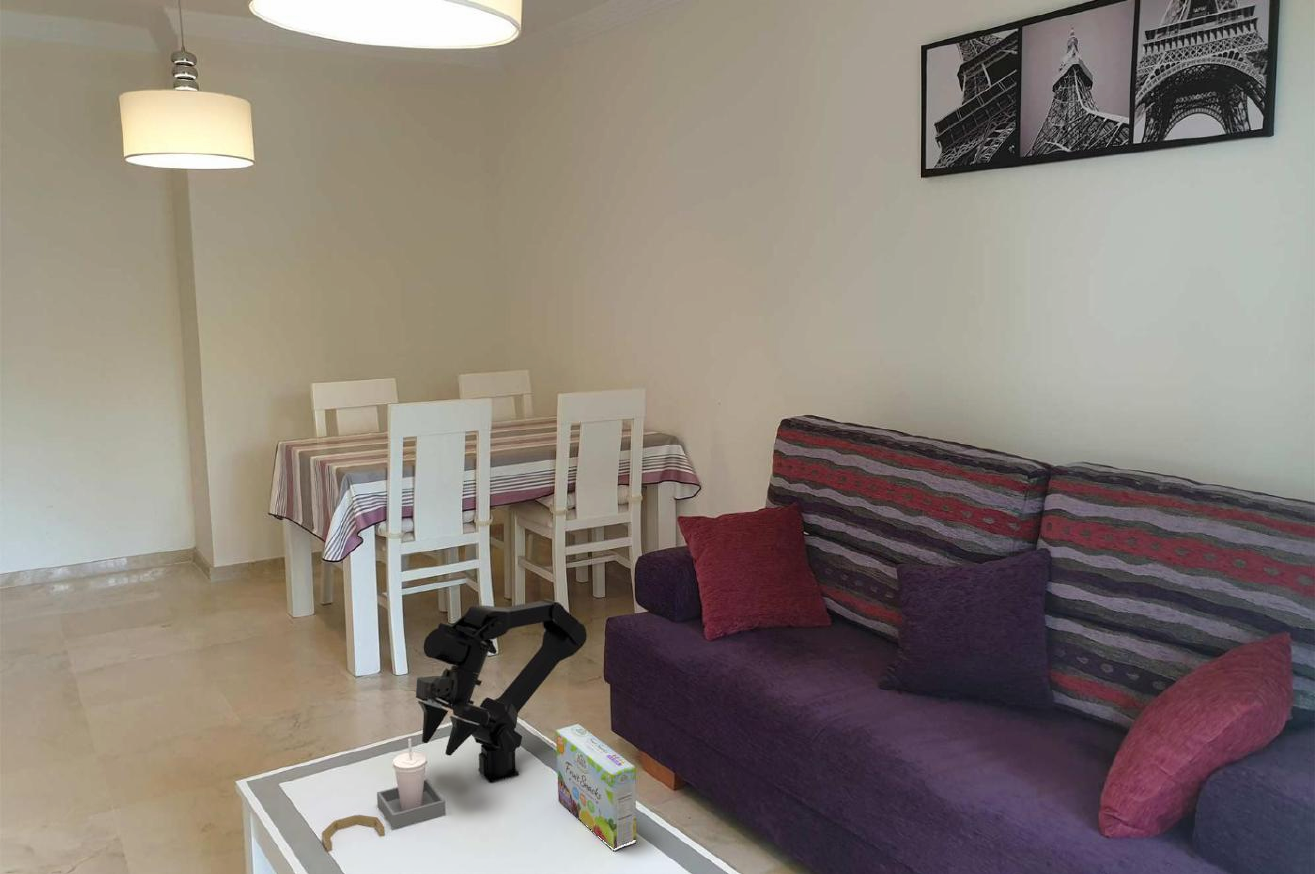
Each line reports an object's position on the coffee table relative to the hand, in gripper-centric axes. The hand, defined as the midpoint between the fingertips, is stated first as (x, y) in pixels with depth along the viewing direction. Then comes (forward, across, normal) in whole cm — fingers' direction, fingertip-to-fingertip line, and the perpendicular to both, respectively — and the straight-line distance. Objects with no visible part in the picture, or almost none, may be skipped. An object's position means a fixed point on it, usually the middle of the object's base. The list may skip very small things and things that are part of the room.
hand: (435, 748), depth 193 cm
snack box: (+3, +24, +23) cm, 34 cm away
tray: (+12, -2, +1) cm, 12 cm away
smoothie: (+12, -2, +1) cm, 12 cm away
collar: (+18, -2, -10) cm, 21 cm away
